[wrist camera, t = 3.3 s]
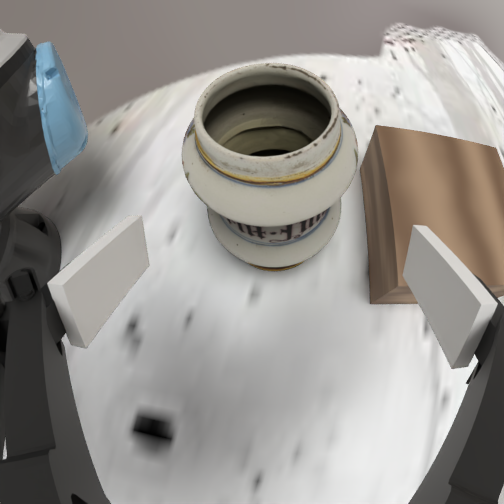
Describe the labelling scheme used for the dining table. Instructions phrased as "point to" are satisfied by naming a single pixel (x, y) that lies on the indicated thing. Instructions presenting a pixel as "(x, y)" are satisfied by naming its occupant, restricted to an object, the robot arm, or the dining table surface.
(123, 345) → the dining table surface
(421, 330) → the dining table surface
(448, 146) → the walnut stand
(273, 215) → the apothecary jar
